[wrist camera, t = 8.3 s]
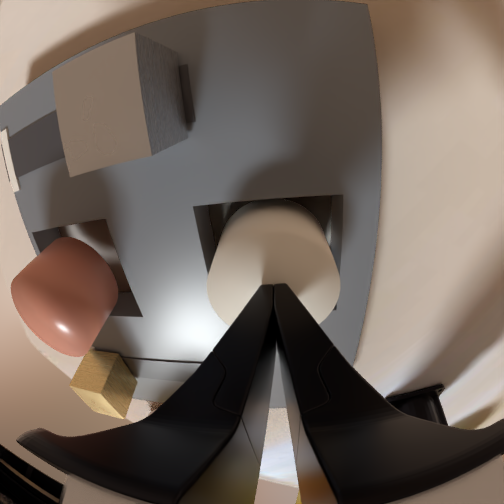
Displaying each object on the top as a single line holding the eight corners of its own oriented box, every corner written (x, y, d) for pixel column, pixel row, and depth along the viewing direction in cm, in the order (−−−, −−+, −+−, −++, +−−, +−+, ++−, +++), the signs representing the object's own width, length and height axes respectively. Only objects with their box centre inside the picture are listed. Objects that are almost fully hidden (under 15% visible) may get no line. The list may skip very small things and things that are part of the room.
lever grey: (176, 51, 7) (134, 32, 4) (188, 138, 8) (151, 156, 5) (109, 73, 7) (52, 71, 4) (121, 152, 8) (69, 177, 6)
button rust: (97, 231, 10) (55, 273, 7) (131, 314, 12) (107, 362, 9) (35, 241, 10) (-2, 275, 8) (69, 311, 12) (43, 349, 10)
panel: (351, 19, 7) (368, 3, 5) (338, 379, 17) (342, 403, 16) (23, 102, 9) (-5, 108, 7) (132, 377, 19) (124, 398, 17)
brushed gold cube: (118, 353, 14) (100, 393, 11) (137, 382, 15) (124, 419, 13) (88, 349, 14) (69, 385, 12) (108, 377, 16) (94, 411, 13)
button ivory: (325, 194, 10) (344, 227, 8) (323, 286, 12) (334, 334, 10) (212, 203, 11) (193, 239, 8) (229, 292, 13) (220, 340, 10)
